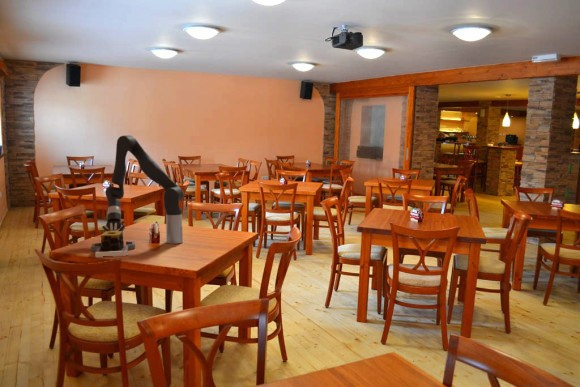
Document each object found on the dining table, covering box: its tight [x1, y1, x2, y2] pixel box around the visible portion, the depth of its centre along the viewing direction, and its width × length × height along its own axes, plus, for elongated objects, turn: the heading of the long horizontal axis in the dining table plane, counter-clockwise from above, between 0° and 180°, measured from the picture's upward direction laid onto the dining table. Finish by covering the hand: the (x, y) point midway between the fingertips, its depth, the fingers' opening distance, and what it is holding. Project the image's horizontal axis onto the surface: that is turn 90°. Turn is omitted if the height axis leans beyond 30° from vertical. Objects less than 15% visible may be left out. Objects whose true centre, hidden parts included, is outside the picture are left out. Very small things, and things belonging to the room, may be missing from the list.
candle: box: [100, 230, 125, 252], centre depth 271 cm, size 10×10×10 cm
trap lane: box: [90, 240, 136, 258], centre depth 270 cm, size 23×22×2 cm
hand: (113, 240), depth 276 cm, fingers closed
